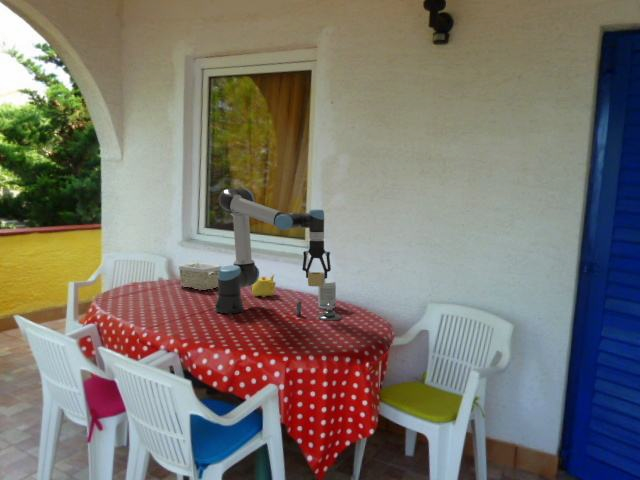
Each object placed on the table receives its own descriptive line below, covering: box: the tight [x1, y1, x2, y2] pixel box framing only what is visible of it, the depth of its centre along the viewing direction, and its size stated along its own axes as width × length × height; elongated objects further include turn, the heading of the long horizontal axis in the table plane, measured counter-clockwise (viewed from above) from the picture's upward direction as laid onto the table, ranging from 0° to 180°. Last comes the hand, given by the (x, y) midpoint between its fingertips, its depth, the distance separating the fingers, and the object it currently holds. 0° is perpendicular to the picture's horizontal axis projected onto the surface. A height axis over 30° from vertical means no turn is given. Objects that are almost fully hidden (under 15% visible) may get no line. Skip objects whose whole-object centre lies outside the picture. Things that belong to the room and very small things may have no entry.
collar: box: [308, 271, 324, 288], centre depth 251 cm, size 7×7×6 cm
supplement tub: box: [317, 279, 337, 310], centre depth 272 cm, size 10×10×15 cm
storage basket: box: [178, 261, 223, 290], centre depth 314 cm, size 24×16×15 cm
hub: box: [317, 304, 342, 322], centre depth 252 cm, size 12×12×7 cm
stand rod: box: [296, 300, 302, 317], centre depth 254 cm, size 2×2×8 cm
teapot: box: [251, 274, 277, 298], centre depth 296 cm, size 14×14×12 cm
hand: (316, 284), depth 251 cm, fingers closed on collar, 7 cm apart
